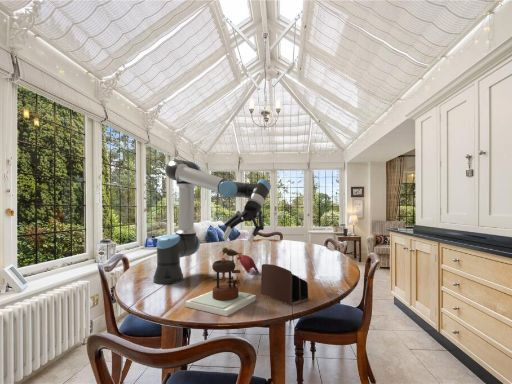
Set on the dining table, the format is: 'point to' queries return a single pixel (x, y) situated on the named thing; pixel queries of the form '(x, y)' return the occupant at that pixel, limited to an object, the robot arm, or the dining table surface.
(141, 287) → the dining table surface
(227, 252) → the music box
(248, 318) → the dining table surface
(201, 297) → the display stand
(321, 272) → the dining table surface
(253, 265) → the red winged figure
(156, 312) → the dining table surface
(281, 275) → the letter holder
